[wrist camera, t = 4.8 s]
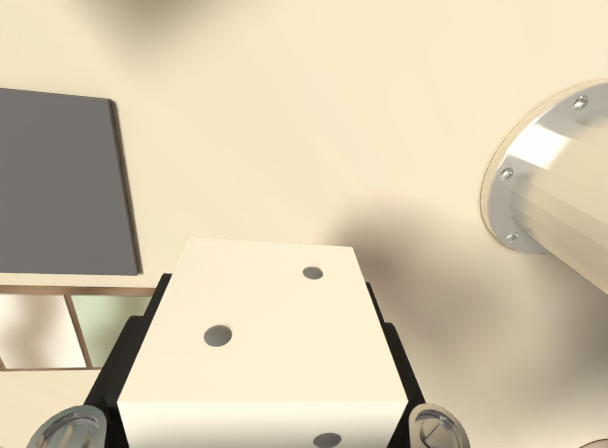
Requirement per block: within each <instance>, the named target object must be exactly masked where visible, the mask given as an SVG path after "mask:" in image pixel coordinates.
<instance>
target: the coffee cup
mask: <svg viewBox="0 0 608 448" xmlns="http://www.w3.org/2000/svg"><path fill="white" fill-rule="evenodd" d="M582 448H608V440H602V441H597V442H593V443H590V444H588V445H586V446H584V447H582Z"/></svg>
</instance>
